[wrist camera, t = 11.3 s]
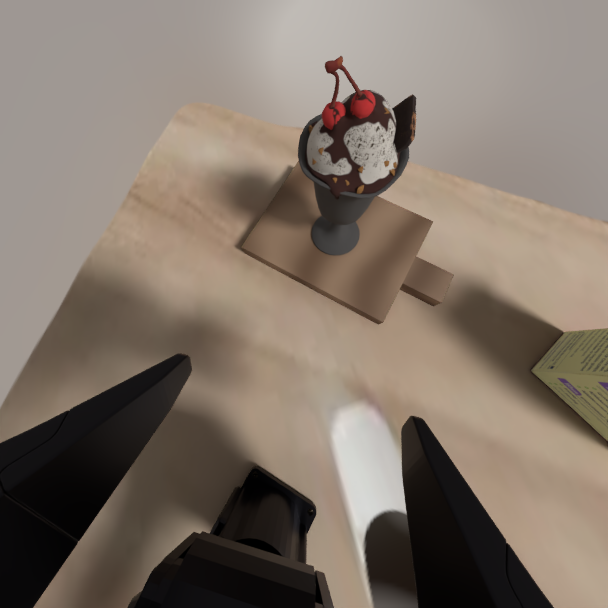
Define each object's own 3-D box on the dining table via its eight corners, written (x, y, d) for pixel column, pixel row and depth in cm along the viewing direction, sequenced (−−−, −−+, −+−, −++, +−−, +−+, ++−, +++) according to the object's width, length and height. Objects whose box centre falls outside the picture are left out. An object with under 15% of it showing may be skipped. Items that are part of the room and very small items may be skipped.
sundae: (291, 248, 23) (261, 72, 9) (320, 196, 25) (334, -35, 10) (351, 275, 23) (427, 130, 8) (377, 219, 24) (484, 6, 9)
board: (461, 245, 25) (470, 238, 23) (415, 344, 23) (422, 343, 21) (299, 170, 27) (298, 160, 26) (245, 253, 25) (241, 246, 24)
